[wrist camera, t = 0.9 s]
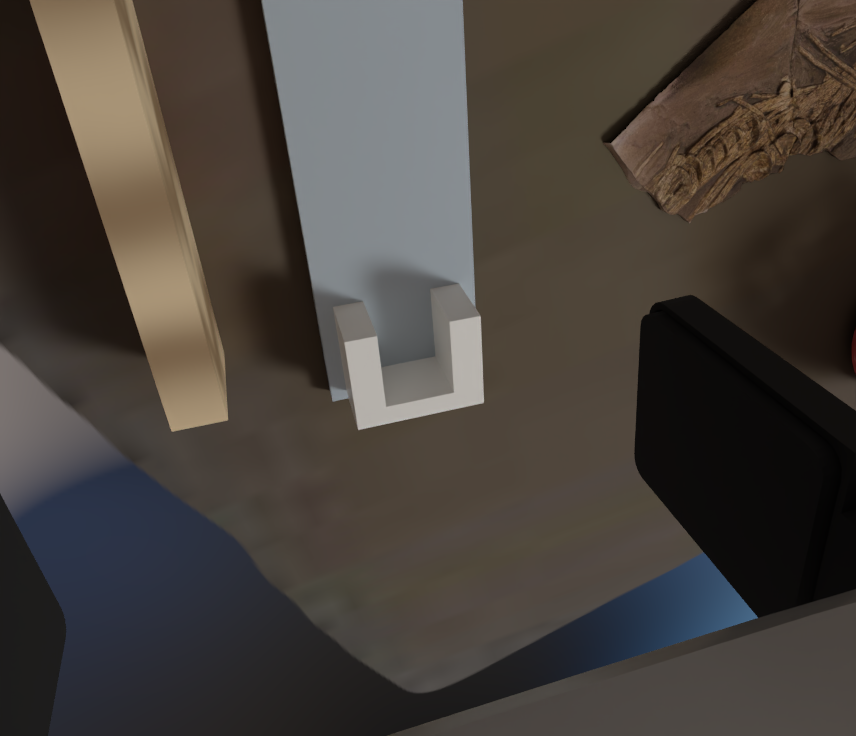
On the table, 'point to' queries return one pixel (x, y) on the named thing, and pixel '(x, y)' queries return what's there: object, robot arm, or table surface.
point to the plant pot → (854, 351)
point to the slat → (138, 198)
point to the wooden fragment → (748, 106)
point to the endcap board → (383, 197)
